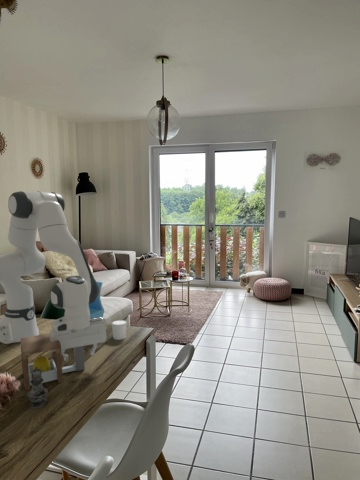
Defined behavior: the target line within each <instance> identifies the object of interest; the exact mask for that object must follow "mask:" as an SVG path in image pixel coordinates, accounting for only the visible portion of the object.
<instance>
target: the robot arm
mask: <svg viewBox="0 0 360 480" xmlns="http://www.w3.org/2000/svg"><path fill="white" fill-rule="evenodd" d="M7 205H8V207H7V208H8V210H9V211H8V212H9V213H10V214H11V215H10V216H11V217H10V221H9V226H8V227H9V228H8V235H7V238H8V242H9V244H10V245H12V246H13V247H16V248H17V250H16V252H8V253H3V254H0V285H1V286H2V288H3V290H4V292H5V293H4V294H5V298H6V299H5V301H6V307H5V308H3V309H2V311H3V312H4V315H3V316H2V317H1V318H0V343H2V344H5V345H9V344H12V343H13V344H15V343H21V341H20V338H25V337H31V336H37V335H40V332H39V331H40V329H39V327H38V323H37V317H36V314H35V313H36V306H35V303H34V293H33V291H34V290H33V289H32V286H30V285H28V284H25V283H23V282H22V280H21V279H22V278H21V277H24V276H30V275H34V274H37V273H39V272H40V271H44V269H45V268H46V267H45V266H46V263H47V262H46V257H45V255H44V254H43V252H41V251H40V250H39V249H38V247H37V242H36V241H37V234H38V237H39V240H40V244H41V245H42V246H43V247H44V248H45V249H46V250H48V251H50V252H53V253H58V254H62V255H64V256H66V257H68V258H69V259H71V260H72V261H73V264H74V266H75V269H76V271H77V275H70V276H67V277H66V278H64V280H63V281H61V282H58V283H54V285H53V286H52V287H51V289H50V290H49V299H50V300H49V301H50V304H51V305H53V307H54V308H57V309H64V315H63V316H62V317H60V318H57V319H54V320H53V321H52V322H51V327H52V328H51V330H50V332H49V333H50V336H49V339H50V341H51V342H54V341H57V340H59V342H60V344H61V356H62V358H63V361H64V362H67V361H69V355H68V354H67V353H65V352H66V350H68V349H74V348H75V347H80V346H84V347H85V346H91V345H92V348H91V349H89V356H91V357H92V356H96V355H95V354H96V353H95V351H96V349H97V347H98V344H100V343H101V344H102V343H105V342H106V341H107V332H106V331H107V330H106V326H107V319H105V318H102V317H99V318H93V319H90V310H89V307H88V304H90V303H93V302H94V301H95V300H96V299H97V297H98V295H99V287H98V284H97V282H96V281H97V280H96V278H95V277H94V275H93V273H92V269H91V267H90V265H89V262H88V259H87V257H86V254H85V252H84V249H83V246H82V245H81V243H80V241H79V240H78V239H75V237H73V235H72V234H71V232H70V230H69V228H68V222H67V221H68V220H67V219H66V215H65V212H64V211H65V209H66V203H65V199H64V197H63V196H62V195H61V194H59V193H57V192H55V191H54V192H52V191H41V190H37V191H33V190H32V191H30V190H29V191H21V190H19V191H16V192H13V193H11V195H10V196H9V197H8V203H7ZM52 351H53V352H54V351H56V350H50V352H52Z"/></svg>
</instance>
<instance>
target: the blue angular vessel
mask: <svg viewBox="0 0 360 480" xmlns="http://www.w3.org/2000/svg"><path fill="white" fill-rule="evenodd" d="M96 282H97V284H98V287H99V295H98V297H97V299H96V300H95V301H94V302H93V303H90V304H88V307H89V310H90V319H93V318H99V317H102V318H103V317H104V313H105V309H104V306H103V304H102V300H101V292H102V287H103V284H104V282H102V281H97V280H96Z"/></svg>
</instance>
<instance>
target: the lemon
mask: <svg viewBox="0 0 360 480" xmlns="http://www.w3.org/2000/svg"><path fill="white" fill-rule="evenodd" d="M49 360H50V359H49V358H47V357H46V356H43V355H40V356H38V357H36V358H35V359H34V362H33V363H34V364H33V363H32V364H33V370H34V369H35V367H37V369H40V370H41V372H46V371H50V363H49Z"/></svg>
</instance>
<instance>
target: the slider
mask: <svg viewBox="0 0 360 480" xmlns="http://www.w3.org/2000/svg"><path fill="white" fill-rule="evenodd" d="M84 347H85V346H80V347H75V348H73V358H74V359H73V360H74V364H72V365H68V366H67V365H66V366H62V374H65V373H69V372H71V373H72V372H74V371H76V372H79V371H84V370H85V369H86V368H85V352H84V351H85V350H84ZM48 360H49V363H50V370H49V371H46V372H41V373H42V379H43V381H42V384H43V383H47V382H52V381H56V380H57V381H58V378H57V368H56V365H55V362H54V359H53V358H52V359H48ZM33 364H34V362H33V363H28V365H29V381H30V386H32V383H31V380H32V375H31V372H32V371H33Z"/></svg>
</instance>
